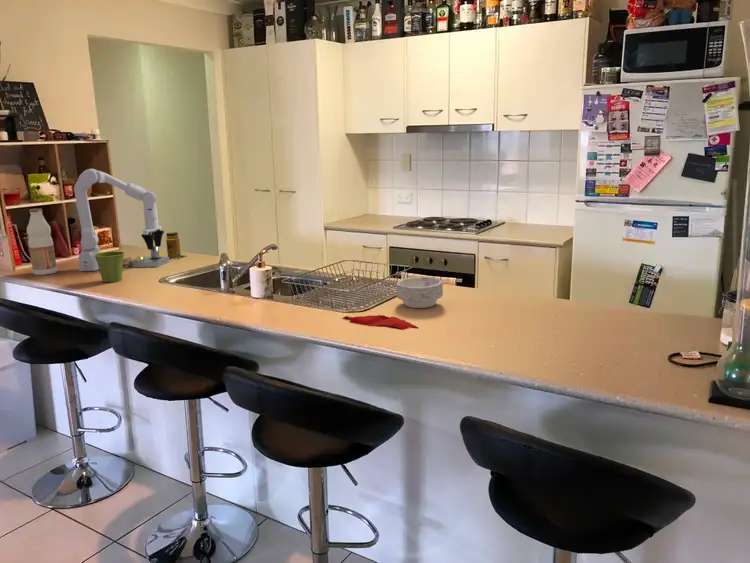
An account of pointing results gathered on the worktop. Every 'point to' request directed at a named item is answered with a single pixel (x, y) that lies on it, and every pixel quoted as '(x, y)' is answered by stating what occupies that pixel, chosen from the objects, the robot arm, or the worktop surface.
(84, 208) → the robot arm
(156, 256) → the silver metal cylinder
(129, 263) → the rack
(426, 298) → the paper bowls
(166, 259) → the socket block
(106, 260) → the plant pot
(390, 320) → the cloth
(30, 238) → the fruit juice
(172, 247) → the condiment
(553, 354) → the worktop surface
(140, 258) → the pin
